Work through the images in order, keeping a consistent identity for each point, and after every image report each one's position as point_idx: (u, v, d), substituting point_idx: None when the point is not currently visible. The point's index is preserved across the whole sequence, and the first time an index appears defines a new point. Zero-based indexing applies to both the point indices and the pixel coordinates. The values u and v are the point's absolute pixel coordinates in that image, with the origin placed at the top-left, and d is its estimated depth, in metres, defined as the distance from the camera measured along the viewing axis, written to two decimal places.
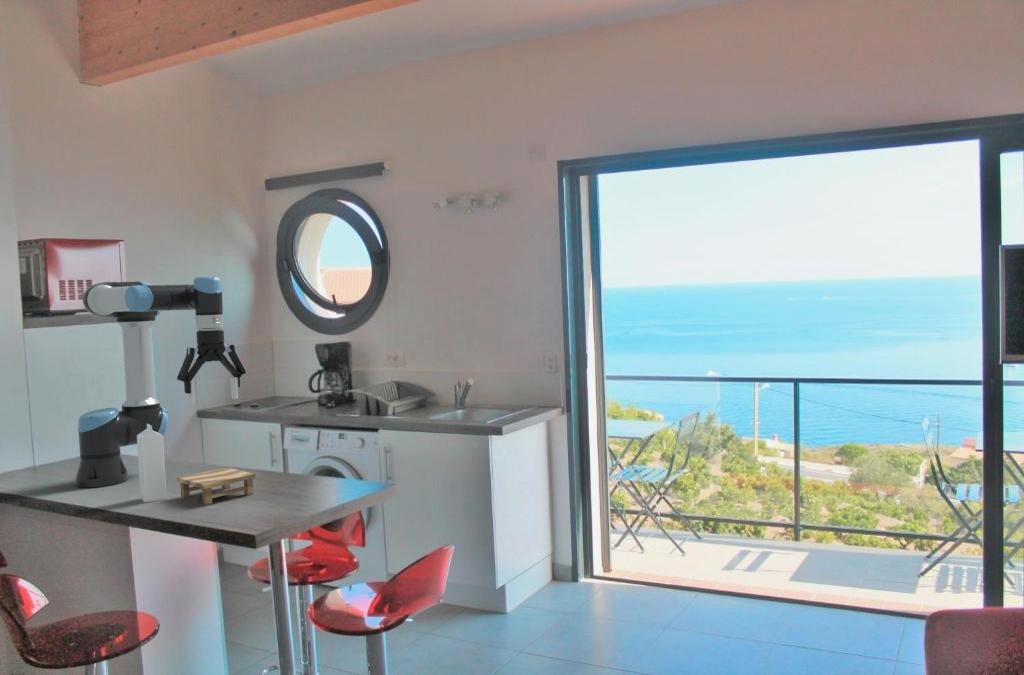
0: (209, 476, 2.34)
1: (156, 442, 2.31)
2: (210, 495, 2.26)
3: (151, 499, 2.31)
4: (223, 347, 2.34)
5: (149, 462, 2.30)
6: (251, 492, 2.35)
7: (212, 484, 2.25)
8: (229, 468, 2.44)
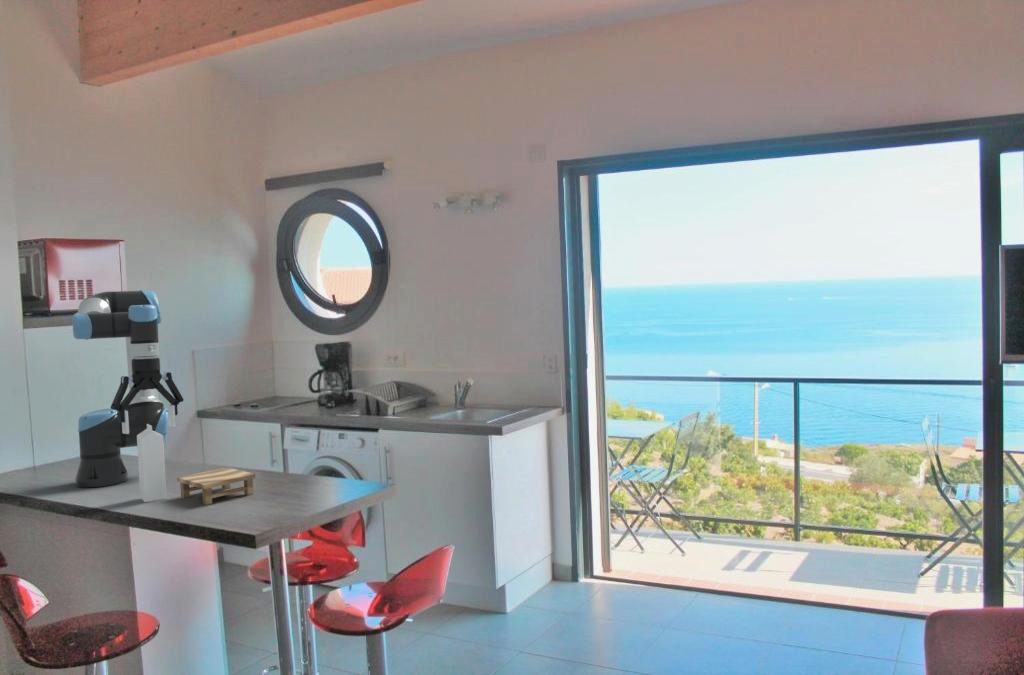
0: (209, 476, 2.34)
1: (156, 442, 2.31)
2: (210, 495, 2.26)
3: (151, 499, 2.31)
4: (159, 375, 2.33)
5: (149, 462, 2.30)
6: (251, 492, 2.35)
7: (212, 484, 2.25)
8: (229, 468, 2.44)
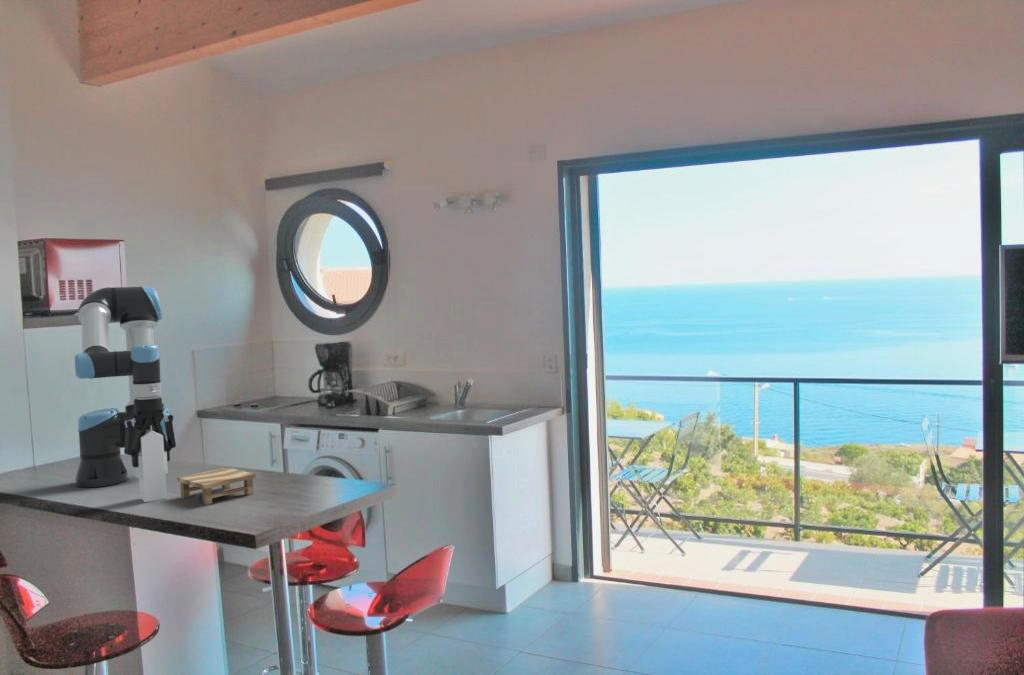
0: (209, 476, 2.34)
1: (156, 442, 2.31)
2: (210, 495, 2.26)
3: (151, 499, 2.31)
4: (162, 415, 2.34)
5: (149, 462, 2.30)
6: (251, 492, 2.35)
7: (212, 484, 2.25)
8: (229, 468, 2.44)
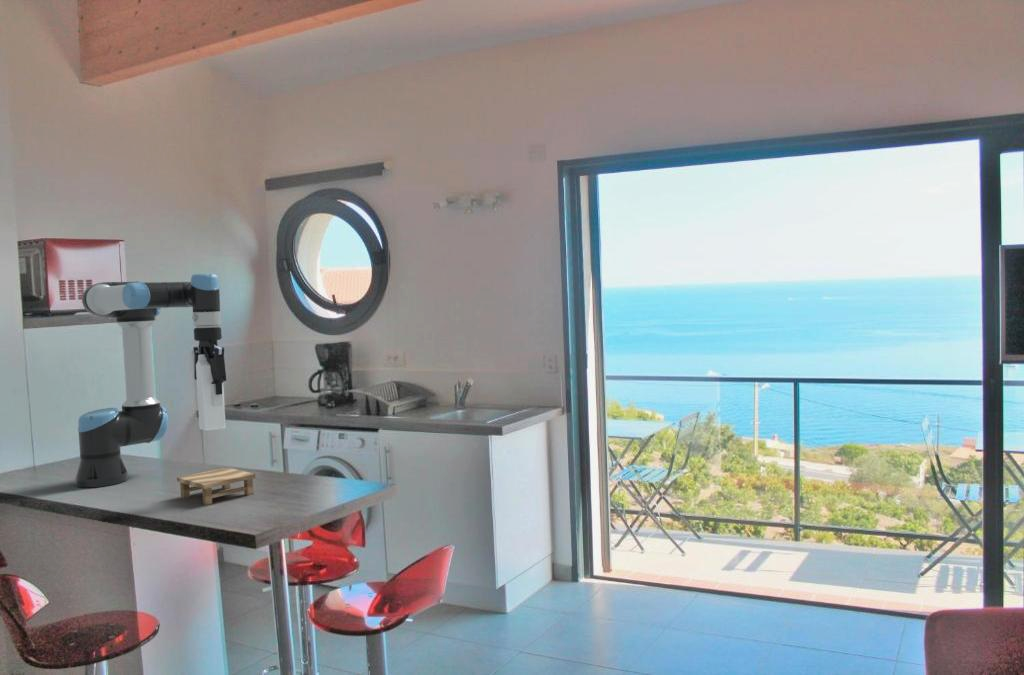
0: (209, 476, 2.34)
1: (199, 372, 2.30)
2: (210, 495, 2.26)
3: (200, 427, 2.33)
4: (210, 346, 2.29)
5: (198, 390, 2.32)
6: (251, 492, 2.35)
7: (212, 484, 2.25)
8: (229, 468, 2.44)
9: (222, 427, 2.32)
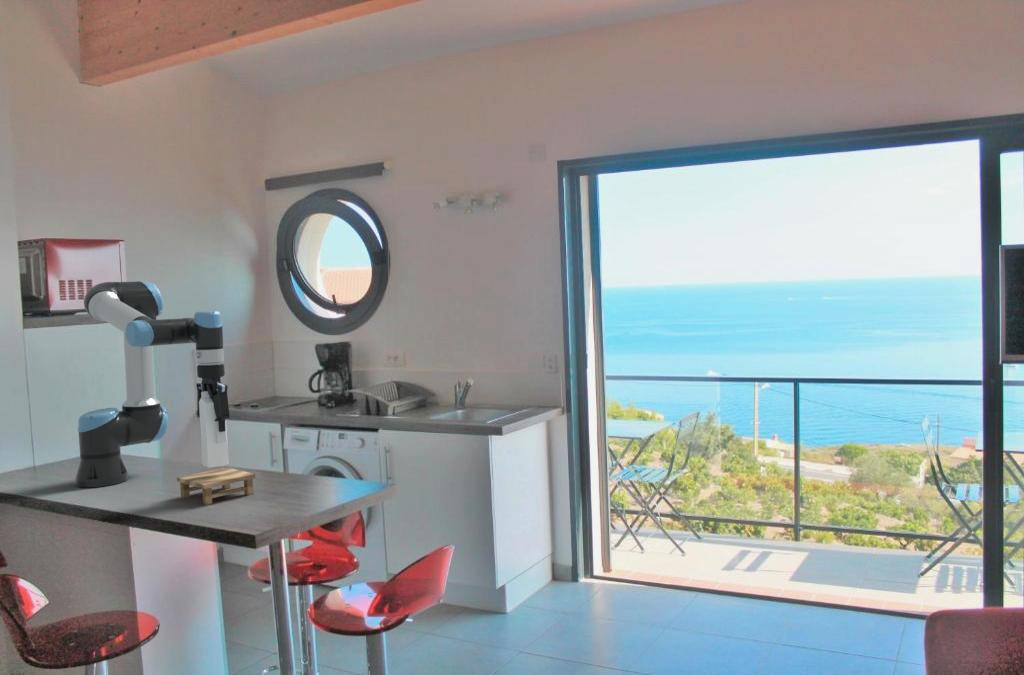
0: (209, 476, 2.34)
1: (203, 409, 2.31)
2: (210, 495, 2.26)
3: (203, 463, 2.34)
4: (213, 383, 2.30)
5: (201, 427, 2.33)
6: (251, 492, 2.35)
7: (212, 484, 2.25)
8: (229, 468, 2.44)
9: (225, 464, 2.33)
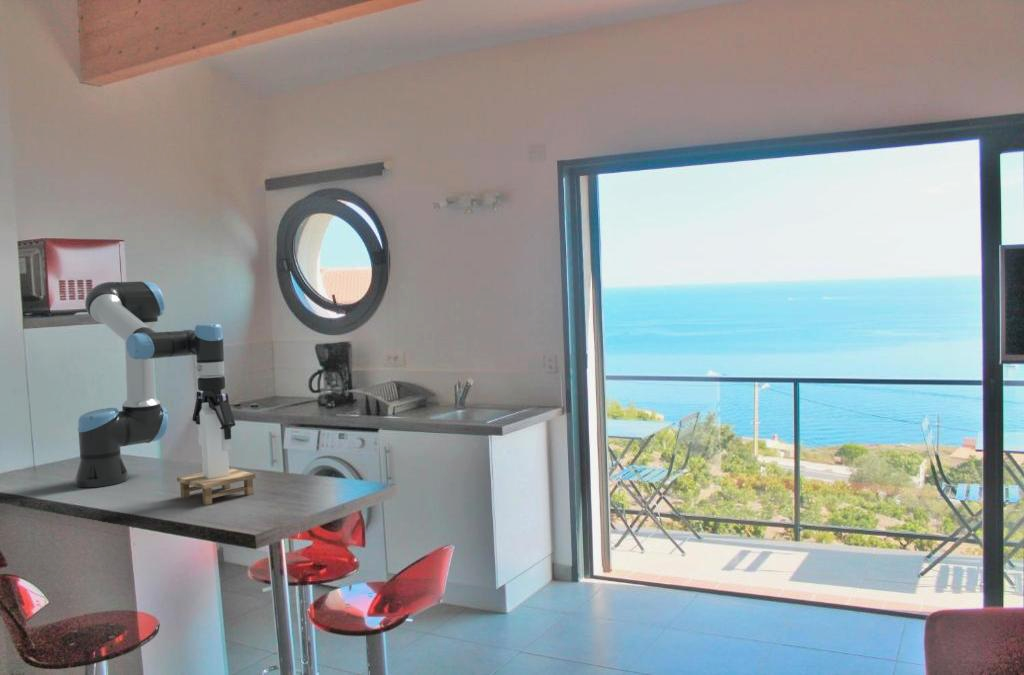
0: None
1: (203, 420, 2.31)
2: (210, 495, 2.26)
3: (204, 474, 2.34)
4: (214, 395, 2.30)
5: (202, 438, 2.33)
6: (251, 492, 2.35)
7: (212, 484, 2.25)
8: (229, 468, 2.44)
9: (226, 475, 2.33)
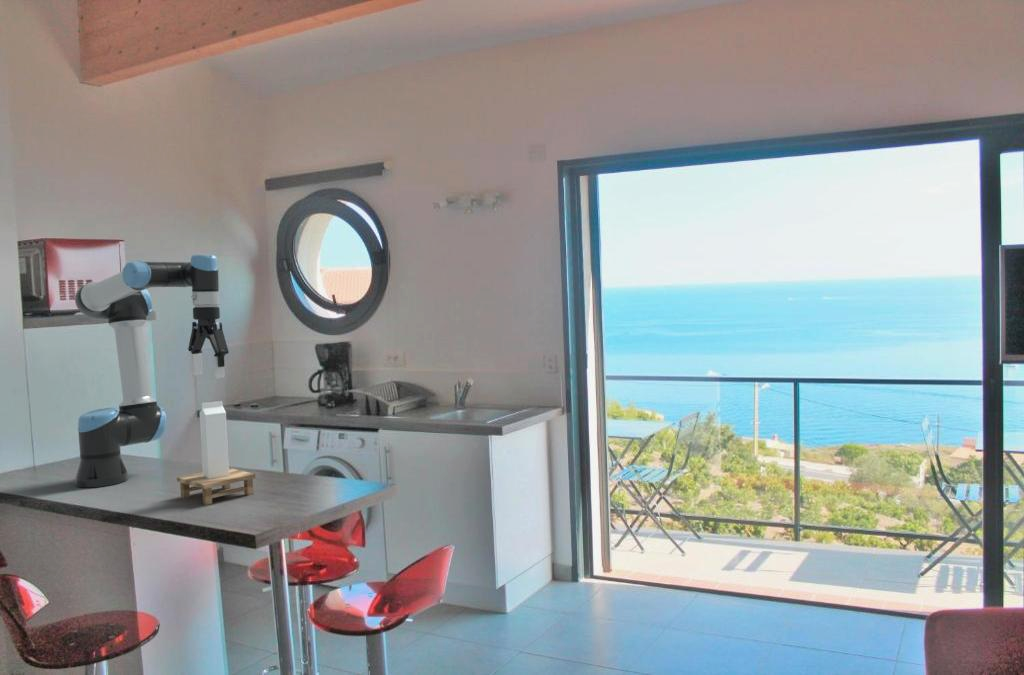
0: None
1: (203, 420, 2.31)
2: (210, 495, 2.26)
3: (204, 474, 2.34)
4: (208, 324, 2.36)
5: (202, 438, 2.33)
6: (251, 492, 2.35)
7: (212, 484, 2.25)
8: (229, 468, 2.44)
9: (226, 475, 2.33)
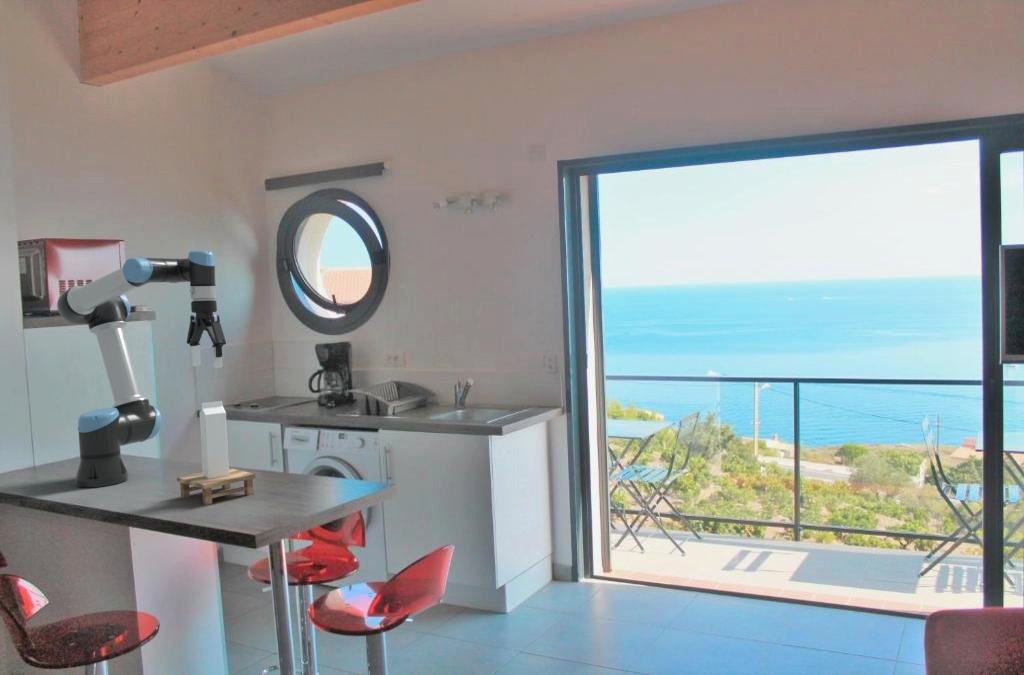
0: None
1: (203, 420, 2.31)
2: (210, 495, 2.26)
3: (204, 474, 2.34)
4: (206, 317, 2.48)
5: (202, 438, 2.33)
6: (251, 492, 2.35)
7: (212, 484, 2.25)
8: (229, 468, 2.44)
9: (226, 475, 2.33)
